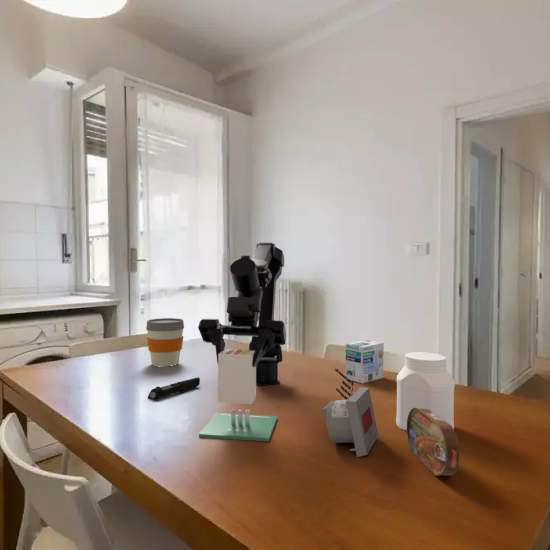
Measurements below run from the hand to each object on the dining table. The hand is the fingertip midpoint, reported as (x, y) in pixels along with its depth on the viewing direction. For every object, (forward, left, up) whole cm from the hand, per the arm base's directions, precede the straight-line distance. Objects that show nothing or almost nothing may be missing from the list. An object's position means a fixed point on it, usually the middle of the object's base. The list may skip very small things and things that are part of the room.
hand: (235, 365), depth 86 cm
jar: (-37, +14, -14) cm, 42 cm away
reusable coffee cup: (+4, -64, -14) cm, 65 cm away
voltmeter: (-21, +9, -14) cm, 27 cm away
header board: (-1, -1, -13) cm, 14 cm away
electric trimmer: (+7, -30, -14) cm, 34 cm away
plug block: (-1, -1, -8) cm, 8 cm away
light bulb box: (-48, -22, -14) cm, 55 cm away
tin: (-26, +27, -14) cm, 40 cm away
